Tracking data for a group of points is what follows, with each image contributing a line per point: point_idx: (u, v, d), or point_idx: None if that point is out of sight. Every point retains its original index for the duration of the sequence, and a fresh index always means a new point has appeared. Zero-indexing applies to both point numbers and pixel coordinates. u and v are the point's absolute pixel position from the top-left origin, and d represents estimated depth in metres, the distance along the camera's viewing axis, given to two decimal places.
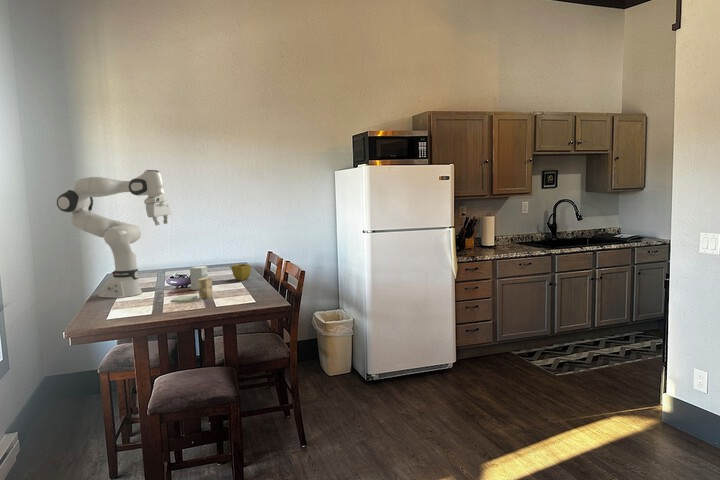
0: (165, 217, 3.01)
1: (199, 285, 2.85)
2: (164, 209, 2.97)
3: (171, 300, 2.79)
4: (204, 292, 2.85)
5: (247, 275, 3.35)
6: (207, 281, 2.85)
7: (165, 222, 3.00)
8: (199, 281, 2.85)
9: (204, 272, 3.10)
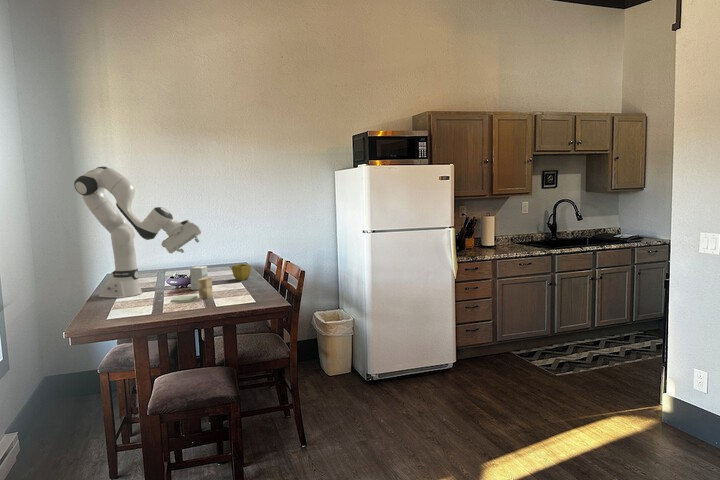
0: (177, 249, 2.84)
1: (199, 285, 2.85)
2: None
3: (171, 300, 2.79)
4: (204, 292, 2.85)
5: (247, 275, 3.35)
6: (207, 281, 2.85)
7: None
8: (199, 281, 2.85)
9: (204, 272, 3.10)
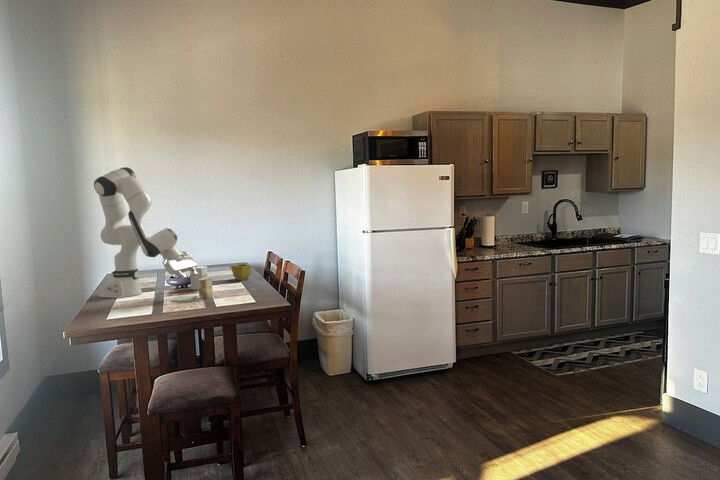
0: None
1: (199, 285, 2.85)
2: None
3: (171, 300, 2.79)
4: (204, 292, 2.85)
5: (247, 275, 3.35)
6: (207, 281, 2.85)
7: None
8: (199, 281, 2.85)
9: (204, 272, 3.10)
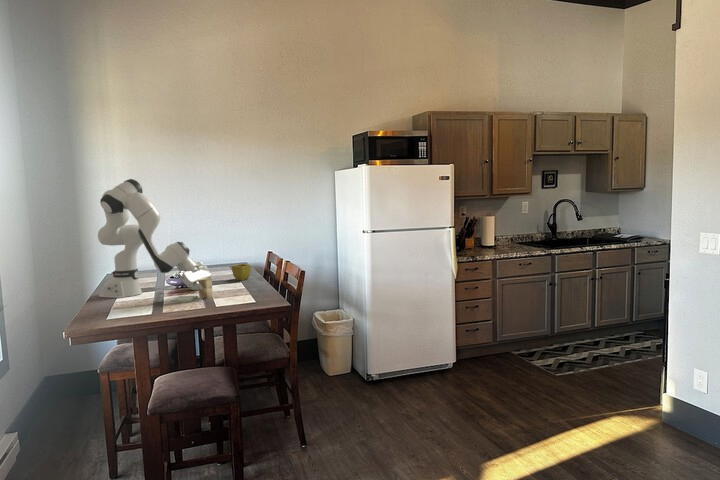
0: None
1: None
2: None
3: (171, 300, 2.79)
4: (204, 292, 2.85)
5: (247, 275, 3.35)
6: (207, 281, 2.85)
7: None
8: (199, 281, 2.85)
9: None
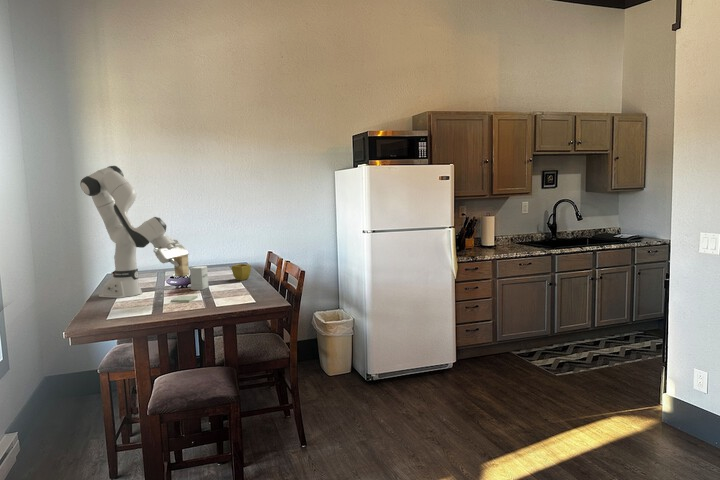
0: None
1: None
2: None
3: (171, 300, 2.79)
4: (179, 269, 2.79)
5: (247, 275, 3.35)
6: (183, 258, 2.79)
7: None
8: (175, 258, 2.79)
9: (204, 272, 3.10)
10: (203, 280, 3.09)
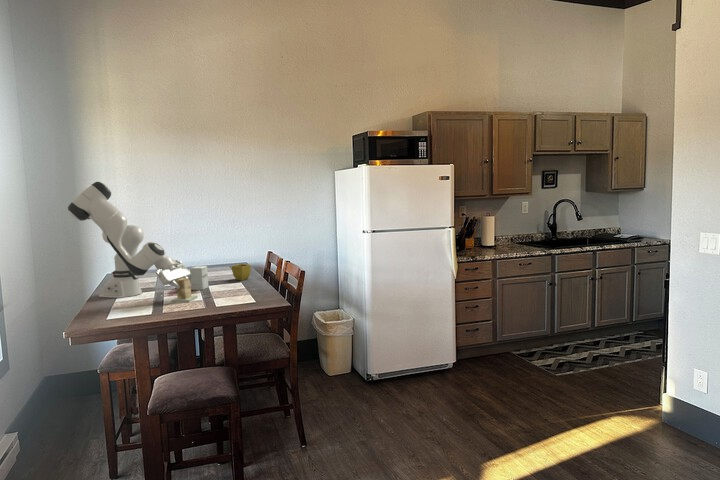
0: None
1: None
2: None
3: (171, 300, 2.79)
4: (182, 292, 2.81)
5: (247, 275, 3.35)
6: (185, 281, 2.81)
7: None
8: (177, 281, 2.81)
9: (204, 272, 3.10)
10: (203, 280, 3.09)
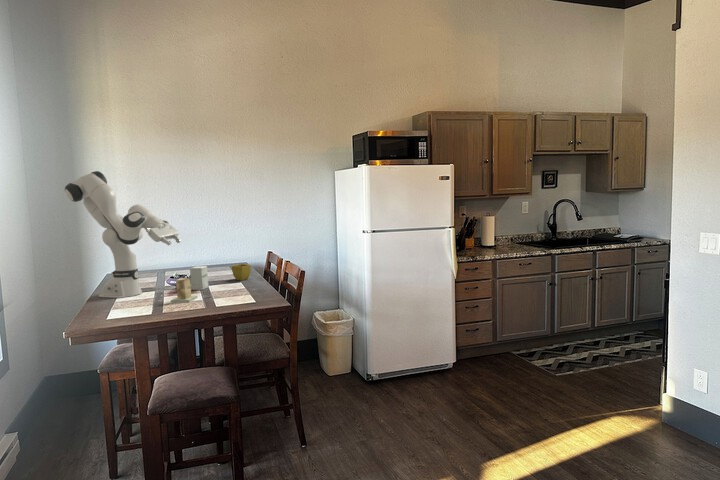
0: None
1: (177, 285, 2.81)
2: None
3: (171, 300, 2.79)
4: (182, 292, 2.81)
5: (247, 275, 3.35)
6: (185, 281, 2.81)
7: None
8: (177, 281, 2.81)
9: (204, 272, 3.10)
10: (203, 280, 3.09)
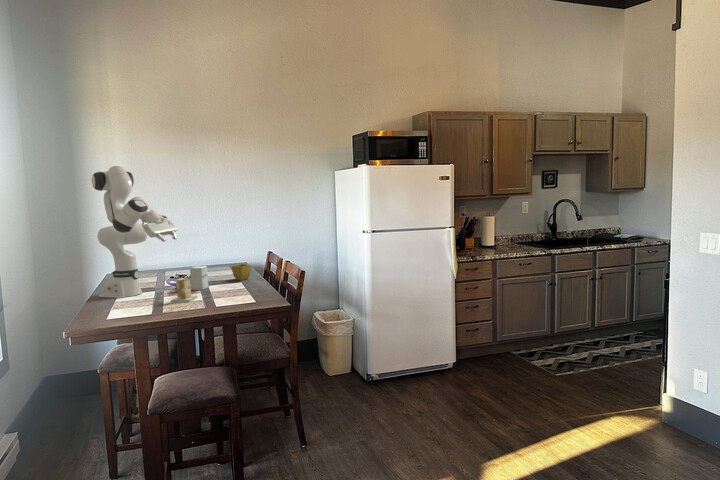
0: None
1: (177, 285, 2.81)
2: None
3: (171, 300, 2.79)
4: (182, 292, 2.81)
5: (247, 275, 3.35)
6: (185, 281, 2.81)
7: None
8: (177, 281, 2.81)
9: (204, 272, 3.10)
10: (203, 280, 3.09)
